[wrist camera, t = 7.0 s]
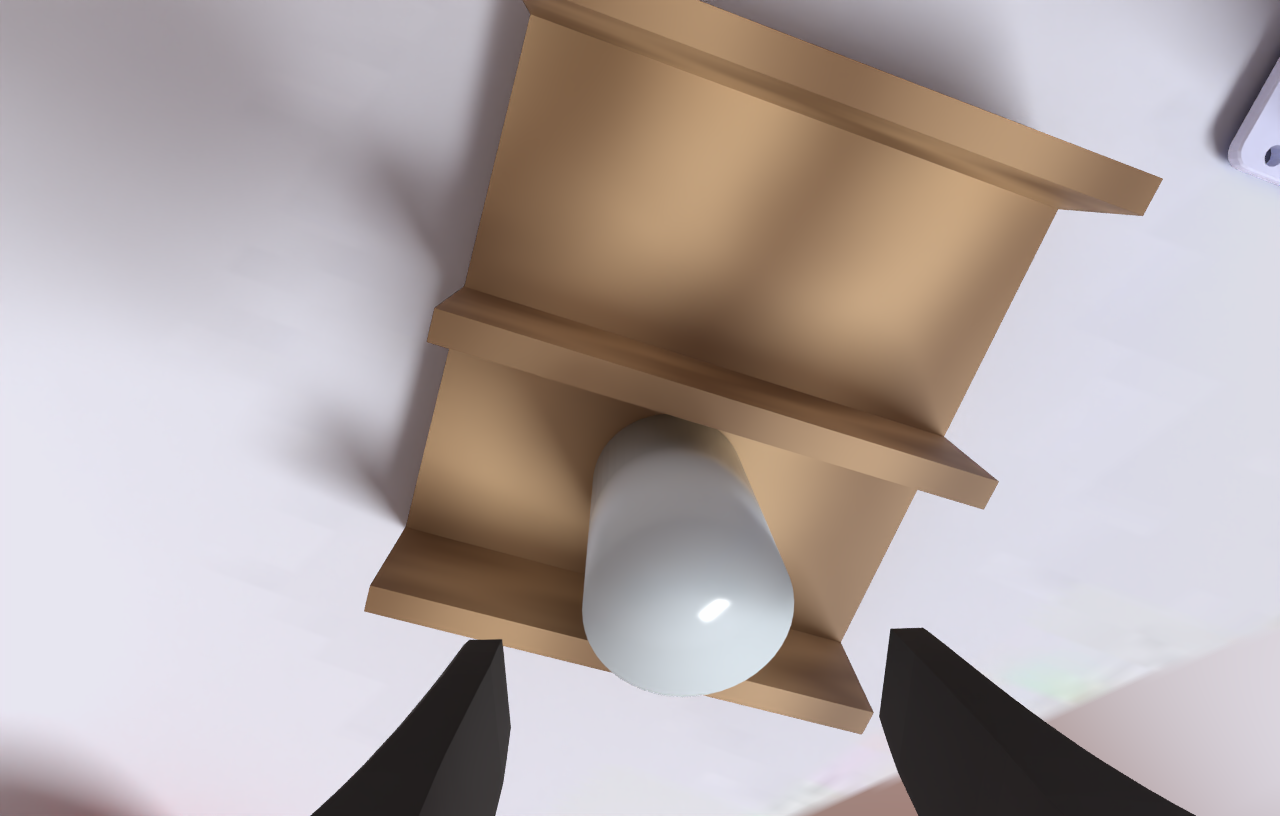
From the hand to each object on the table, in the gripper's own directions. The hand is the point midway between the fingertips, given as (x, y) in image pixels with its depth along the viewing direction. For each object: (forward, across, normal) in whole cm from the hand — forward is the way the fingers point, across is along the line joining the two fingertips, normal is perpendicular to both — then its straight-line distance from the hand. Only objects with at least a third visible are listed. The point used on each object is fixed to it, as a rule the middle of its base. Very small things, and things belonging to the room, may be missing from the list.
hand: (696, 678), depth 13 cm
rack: (+9, -1, -4) cm, 9 cm away
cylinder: (+8, 0, 0) cm, 8 cm away
